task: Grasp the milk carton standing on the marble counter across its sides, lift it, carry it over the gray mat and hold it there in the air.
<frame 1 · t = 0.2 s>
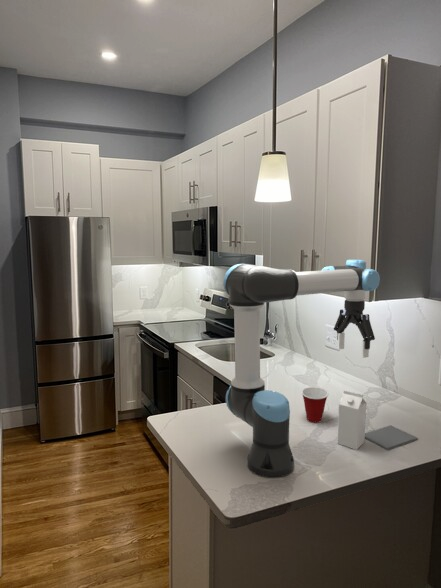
hand: (352, 353, 176), 28 cm above the worktop, fingers open, 13 cm apart
plastic cup: (314, 420, 180), on the worktop
milk carton: (351, 443, 160), on the worktop
gray mat: (389, 438, 164), on the worktop
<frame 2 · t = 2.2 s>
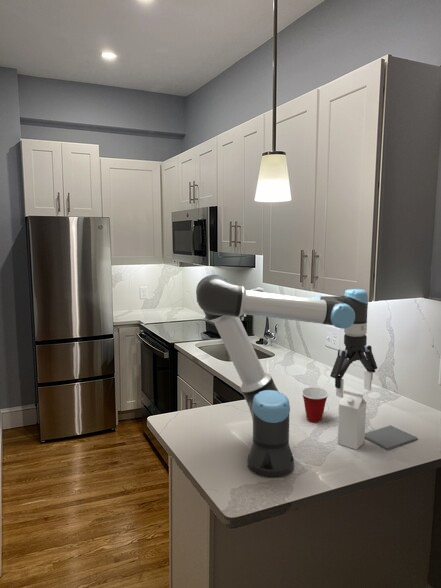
hand: (353, 393, 158), 19 cm above the worktop, fingers open, 13 cm apart
nothing on the worktop moved.
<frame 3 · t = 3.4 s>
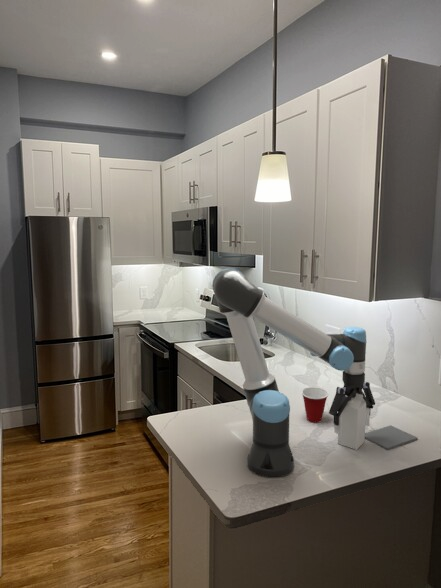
hand: (351, 428, 160), 5 cm above the worktop, fingers open, 13 cm apart
nothing on the worktop moved.
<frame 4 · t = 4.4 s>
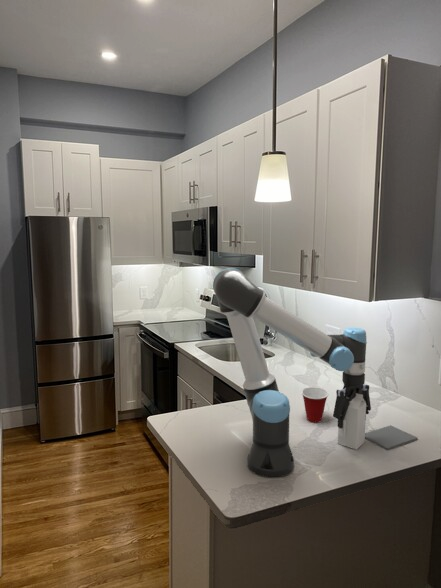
hand: (351, 433, 160), 4 cm above the worktop, fingers closed on milk carton, 9 cm apart
milk carton: (351, 443, 160), on the worktop, touching gripper
everything else where it was.
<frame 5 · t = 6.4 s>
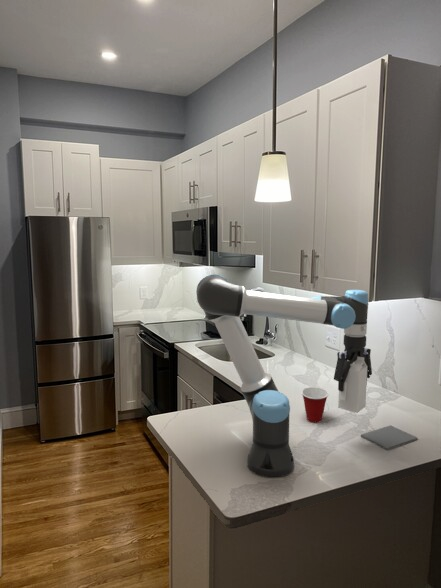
hand: (352, 397, 158), 17 cm above the worktop, fingers closed on milk carton, 9 cm apart
milk carton: (351, 408, 158), point 13 cm above the worktop, touching gripper
everything else where it was.
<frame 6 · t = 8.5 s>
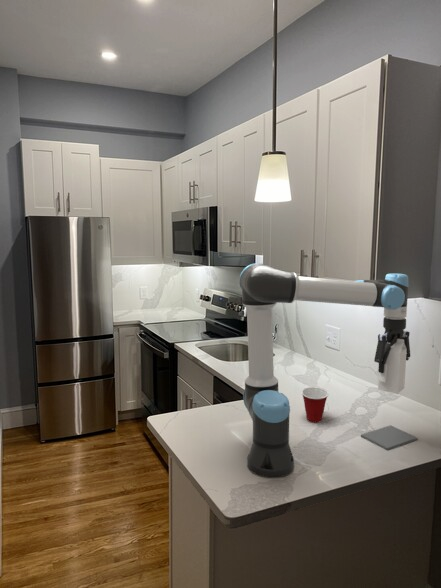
hand: (391, 379, 161), 23 cm above the worktop, fingers closed on milk carton, 9 cm apart
milk carton: (391, 390, 162), point 18 cm above the worktop, touching gripper
everything else where it was.
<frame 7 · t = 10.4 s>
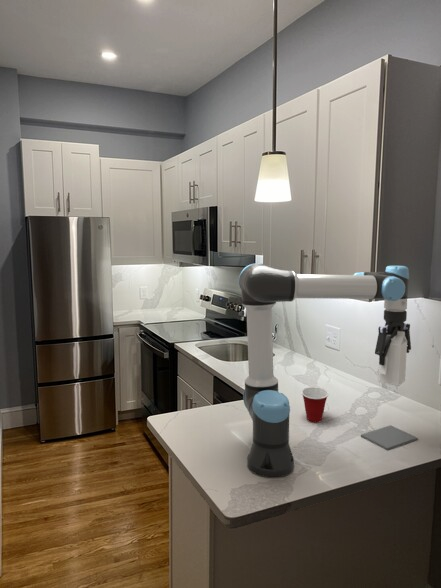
hand: (392, 371, 161), 25 cm above the worktop, fingers closed on milk carton, 9 cm apart
milk carton: (391, 382, 161), point 21 cm above the worktop, touching gripper
everything else where it was.
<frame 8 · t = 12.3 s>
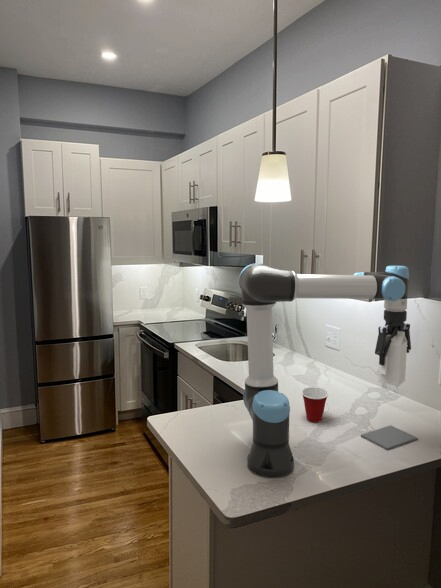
hand: (392, 371, 161), 25 cm above the worktop, fingers closed on milk carton, 9 cm apart
milk carton: (391, 382, 161), point 21 cm above the worktop, touching gripper
everything else where it was.
at the end: the gripper is holding milk carton; milk carton point 21.2 cm above the worktop; milk carton inside the target area on the gray mat (0.0 cm from its centre), point 21.2 cm above the gray mat's base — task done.
